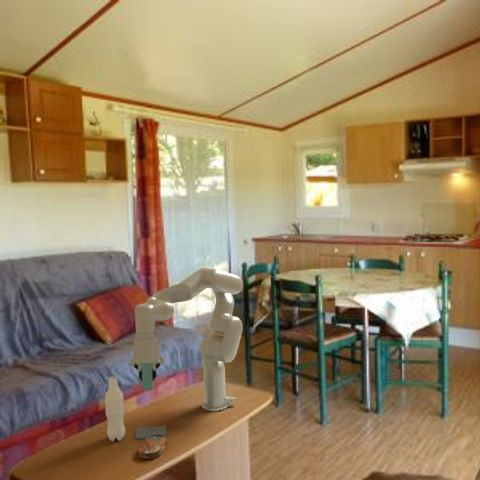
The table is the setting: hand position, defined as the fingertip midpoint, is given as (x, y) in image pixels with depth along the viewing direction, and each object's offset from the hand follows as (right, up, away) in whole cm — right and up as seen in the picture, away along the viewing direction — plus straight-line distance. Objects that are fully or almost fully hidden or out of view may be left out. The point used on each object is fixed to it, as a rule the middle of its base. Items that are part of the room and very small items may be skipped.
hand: (147, 379), depth 212 cm
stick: (0, -4, 0) cm, 4 cm away
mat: (+1, -22, +2) cm, 22 cm away
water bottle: (-12, -23, -1) cm, 26 cm away
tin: (0, -23, -11) cm, 25 cm away
